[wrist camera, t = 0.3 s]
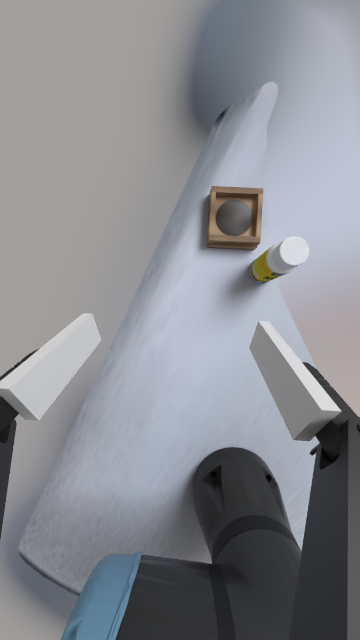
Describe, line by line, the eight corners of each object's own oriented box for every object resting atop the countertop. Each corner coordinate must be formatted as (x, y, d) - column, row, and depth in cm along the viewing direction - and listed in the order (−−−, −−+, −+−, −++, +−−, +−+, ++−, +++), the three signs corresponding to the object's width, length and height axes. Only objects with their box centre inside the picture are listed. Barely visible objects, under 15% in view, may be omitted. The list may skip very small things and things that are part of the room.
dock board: (254, 249, 29) (260, 244, 27) (206, 246, 29) (208, 241, 27) (257, 196, 29) (263, 187, 27) (209, 194, 29) (211, 184, 27)
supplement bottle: (253, 287, 29) (283, 273, 20) (244, 263, 29) (271, 240, 20) (277, 278, 29) (317, 260, 20) (268, 254, 29) (304, 227, 20)
